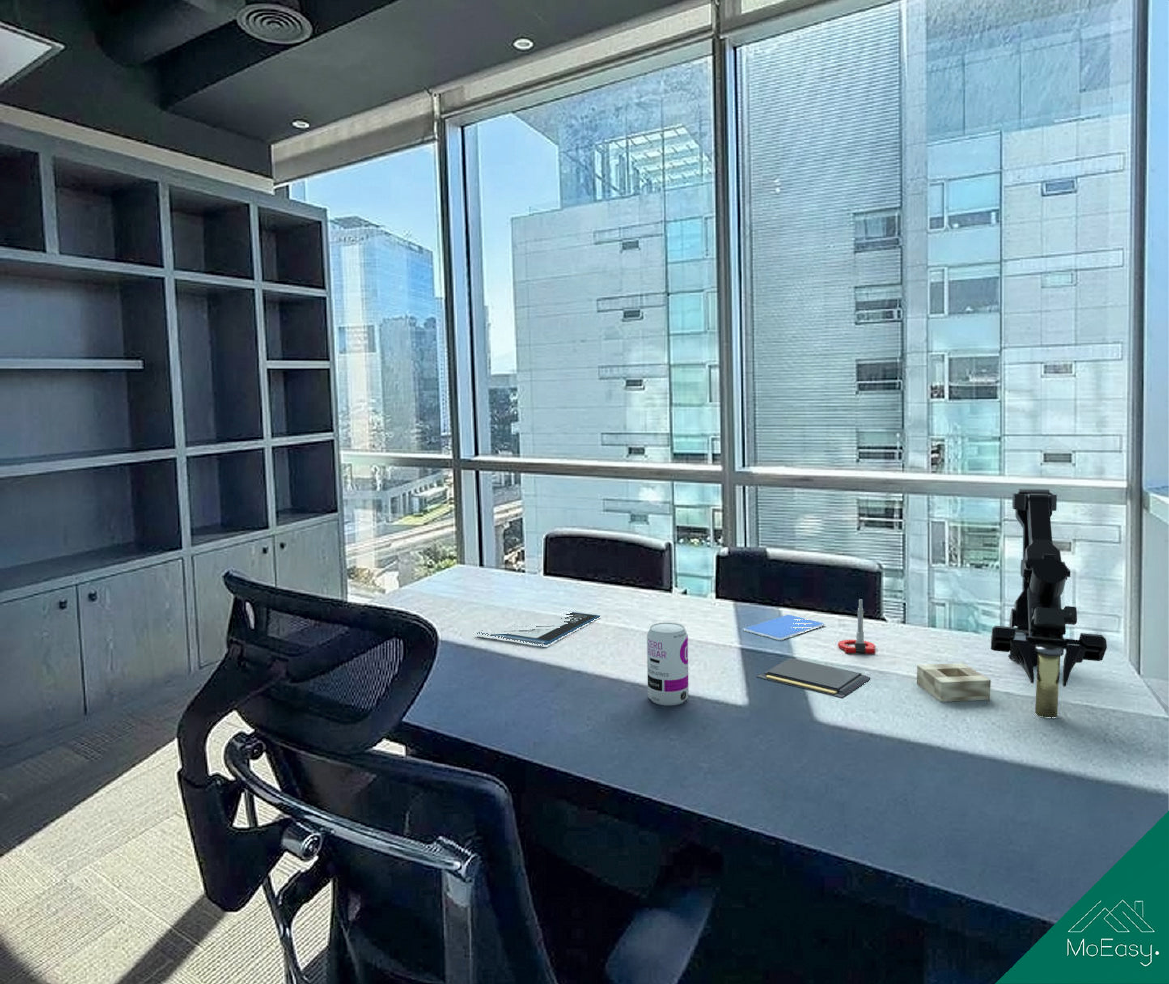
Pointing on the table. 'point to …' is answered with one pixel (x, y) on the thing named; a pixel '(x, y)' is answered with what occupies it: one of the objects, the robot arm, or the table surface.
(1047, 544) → the robot arm
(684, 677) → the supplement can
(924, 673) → the socket block
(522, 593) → the table surface
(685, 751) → the table surface
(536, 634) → the sketchbook
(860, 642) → the tow hook
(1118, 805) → the table surface
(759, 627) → the tablet computer
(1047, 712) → the brass pin
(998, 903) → the table surface
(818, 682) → the dark gray book
